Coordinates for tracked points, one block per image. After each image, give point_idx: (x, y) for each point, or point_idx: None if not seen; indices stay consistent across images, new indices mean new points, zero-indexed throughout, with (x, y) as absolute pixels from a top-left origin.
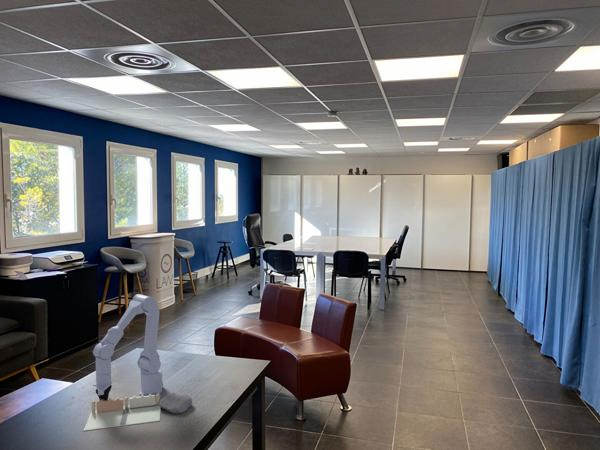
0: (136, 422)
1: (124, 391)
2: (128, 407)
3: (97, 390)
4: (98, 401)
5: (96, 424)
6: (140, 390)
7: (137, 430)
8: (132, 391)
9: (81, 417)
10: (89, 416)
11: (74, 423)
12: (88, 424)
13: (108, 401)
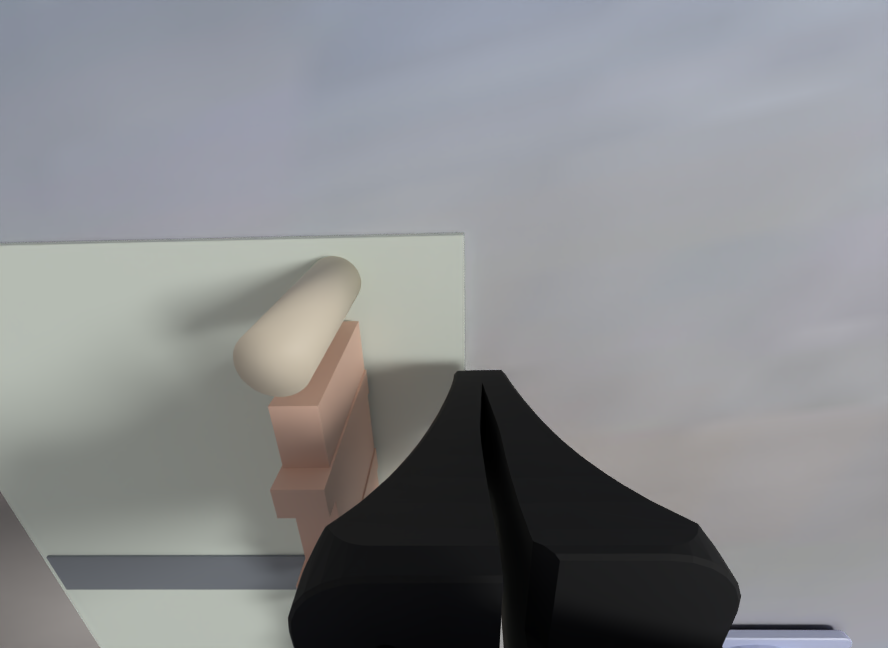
0: (111, 642)
1: (868, 511)
2: None
3: (343, 620)
4: (312, 432)
5: (24, 368)
6: (759, 640)
7: (9, 643)
8: (809, 573)
9: (237, 118)
10: (231, 243)
11: (37, 47)
12: (7, 278)
13: (306, 554)
